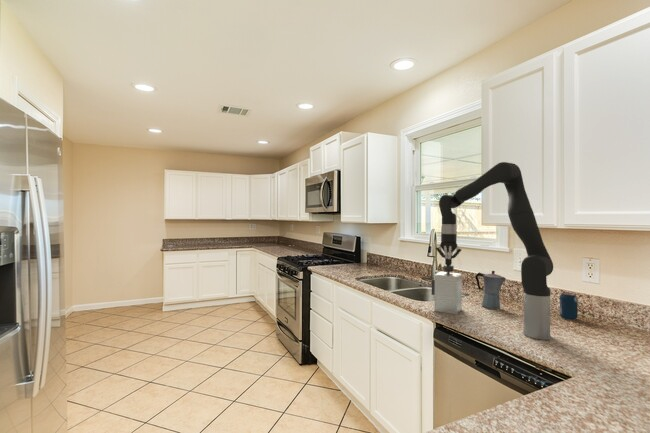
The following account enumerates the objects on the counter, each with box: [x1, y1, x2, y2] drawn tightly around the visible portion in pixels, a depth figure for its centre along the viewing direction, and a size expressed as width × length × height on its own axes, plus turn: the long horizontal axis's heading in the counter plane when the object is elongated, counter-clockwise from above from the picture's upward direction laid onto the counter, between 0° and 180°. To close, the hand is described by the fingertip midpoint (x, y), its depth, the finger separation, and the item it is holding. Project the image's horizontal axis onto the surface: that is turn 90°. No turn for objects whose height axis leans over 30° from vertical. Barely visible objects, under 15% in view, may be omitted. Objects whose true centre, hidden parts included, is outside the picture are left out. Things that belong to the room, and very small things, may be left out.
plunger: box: [442, 264, 455, 275], centre depth 167 cm, size 9×9×20 cm
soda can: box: [559, 291, 579, 321], centre depth 155 cm, size 7×7×12 cm
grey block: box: [431, 271, 463, 316], centre depth 168 cm, size 14×11×19 cm
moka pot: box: [474, 270, 507, 310], centre depth 174 cm, size 10×15×20 cm, turn 53°
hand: (448, 265), depth 167 cm, fingers closed
